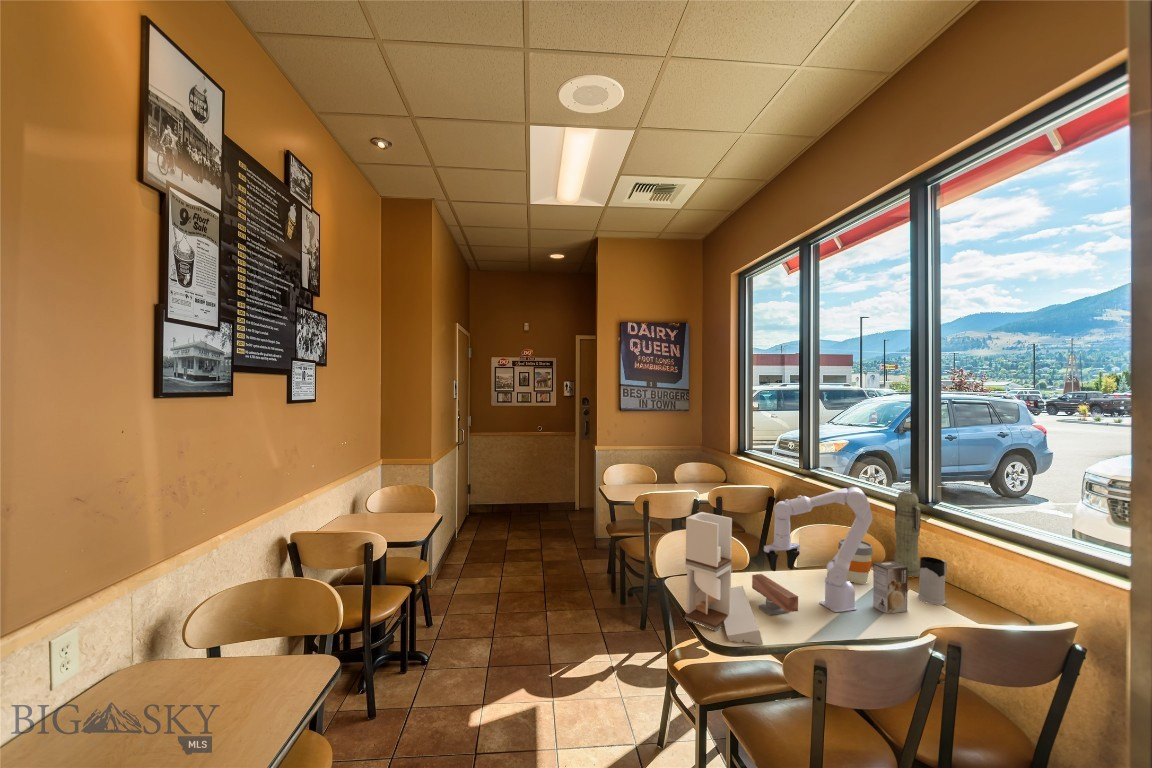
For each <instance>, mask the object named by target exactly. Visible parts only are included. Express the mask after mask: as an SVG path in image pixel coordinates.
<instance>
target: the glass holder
mask: <svg viewBox="0 0 1152 768" xmlns="http://www.w3.org/2000/svg"><path fill="white" fill-rule="evenodd" d="M947 570H948V563H947V561H946V560H943V559H941V558H940V559H939V558H935V557H931V556H921V557H920V559H919V571H918V574H919V576H918V577H919V579H918V580H919V581H918V584H919V585H918V588H919V589H918V594H917V599H918V598H919V599H918V600H920V601H921V600H922V602H925V603H926V602H927V603H926V604H931V605H934V604H936V606H944V604H945V603H946V604H947V601H946V599H945V597H946V596H945V592H946V577H947ZM946 604H945V605H946Z"/></svg>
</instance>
